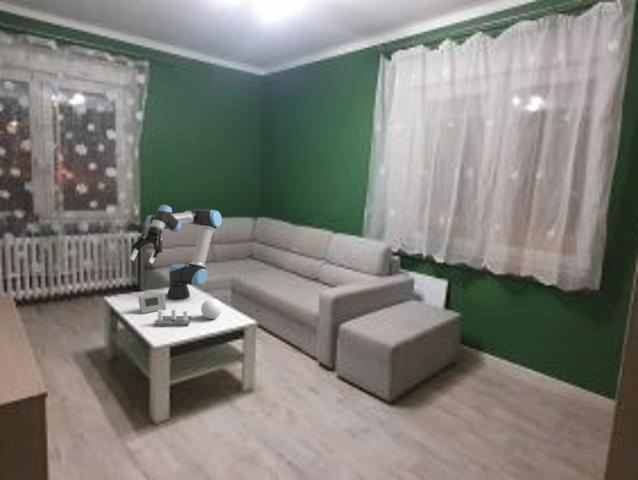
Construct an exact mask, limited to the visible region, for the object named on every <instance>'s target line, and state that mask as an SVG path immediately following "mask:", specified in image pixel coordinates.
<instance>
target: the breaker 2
mask: <svg viewBox="0 0 638 480" xmlns="http://www.w3.org/2000/svg"><path fill="white" fill-rule="evenodd" d="M188 311H189V310H188V309H183V311H182V312H183V313H182V316H183V321H187V320H188V316H189V315H188V313H189V312H188Z"/></svg>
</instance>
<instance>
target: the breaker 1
mask: <svg viewBox="0 0 638 480" xmlns="http://www.w3.org/2000/svg"><path fill="white" fill-rule="evenodd" d="M163 312H164V311H163V310H158V311H157V320H158V321H162V320H163V316H164V315H163Z"/></svg>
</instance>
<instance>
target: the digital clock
mask: <svg viewBox="0 0 638 480" xmlns="http://www.w3.org/2000/svg"><path fill="white" fill-rule="evenodd" d="M138 303H139V311H140V313H141V314H142V315H143V314H151V313H155V312H158V310H162V311H163V310H166V309H167V303H166V297H165V293H164V292H162V291H161V292H155V293H149V294H145V295H144V294H142V295H139V296H138Z"/></svg>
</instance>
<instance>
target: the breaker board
mask: <svg viewBox="0 0 638 480" xmlns="http://www.w3.org/2000/svg"><path fill="white" fill-rule="evenodd" d="M191 321H192V315H188V320H187V321H183V315H176V319H175V320H172V315H163V320H162V321H158V319H157V320H156V321H155V323H154V326H155V328H157V327H158V328H159V327H161V328H163V327H164V328H165V327H170V328H172V327H174V328H175V327H179V328H180V327H181V328H182V327H189V325H190V323H191Z"/></svg>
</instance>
